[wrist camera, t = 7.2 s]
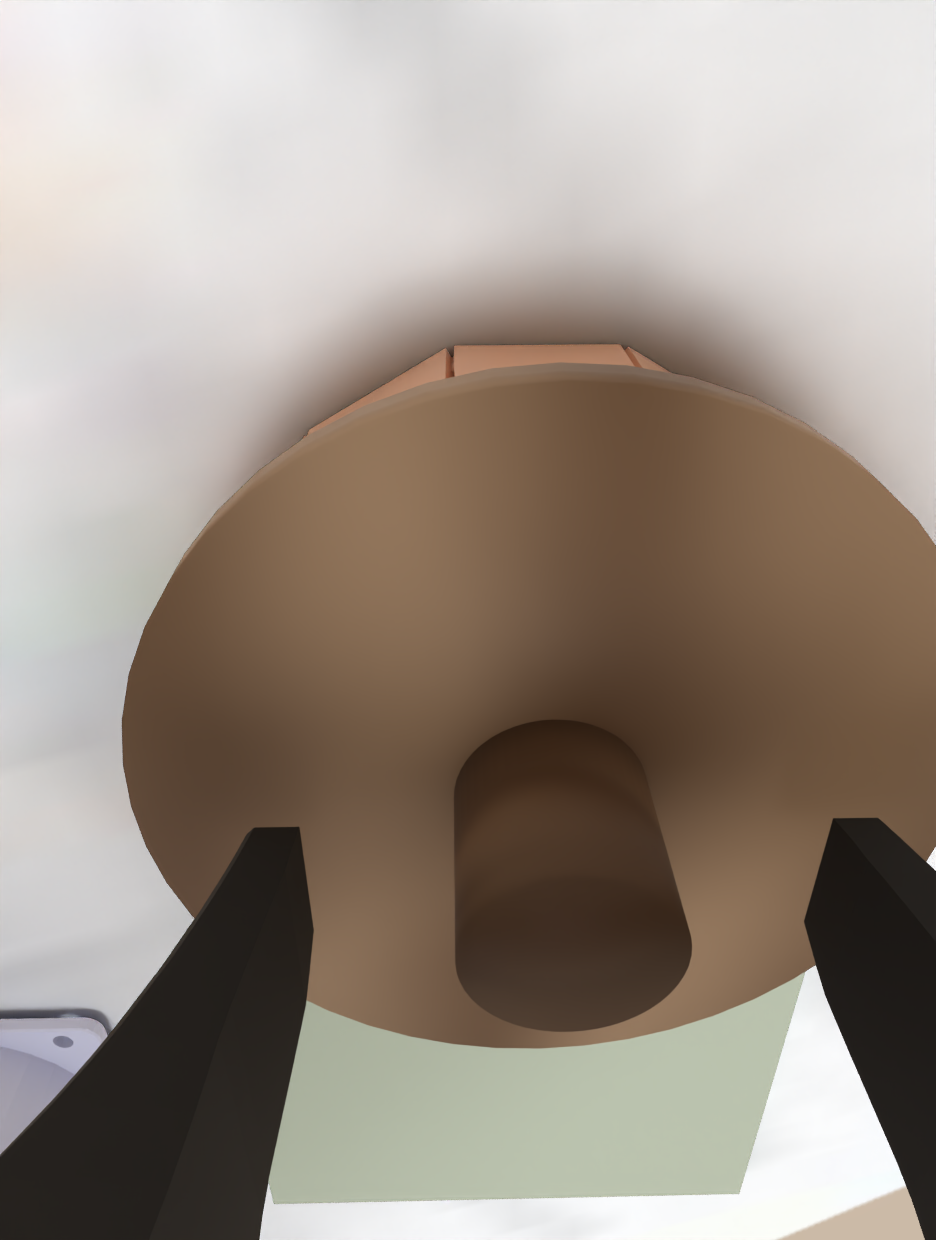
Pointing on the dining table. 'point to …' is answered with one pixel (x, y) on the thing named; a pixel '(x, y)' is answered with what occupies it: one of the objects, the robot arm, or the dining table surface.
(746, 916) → the walnut lid
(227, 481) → the dining table surface
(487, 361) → the terracotta bowl
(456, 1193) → the rubber mat
